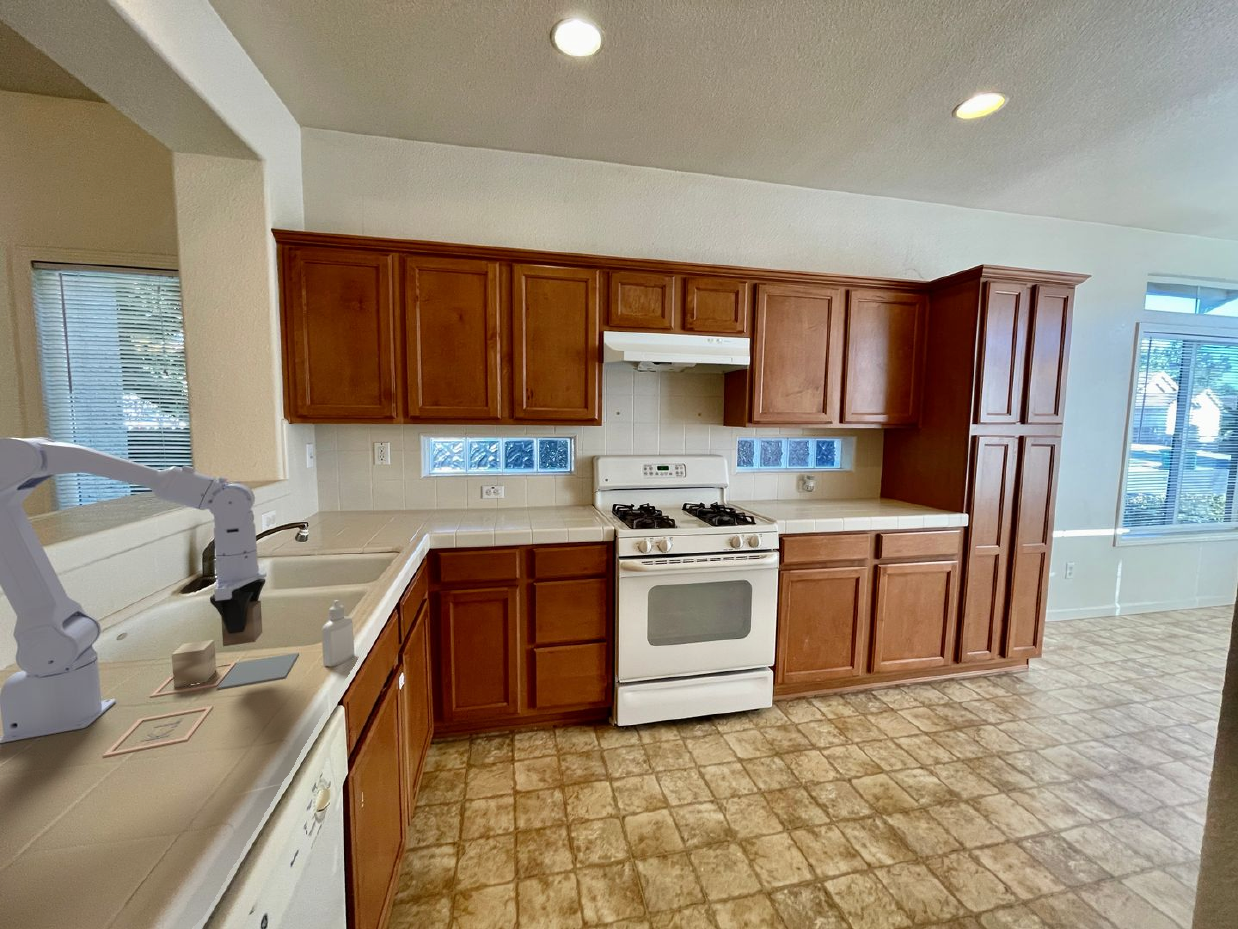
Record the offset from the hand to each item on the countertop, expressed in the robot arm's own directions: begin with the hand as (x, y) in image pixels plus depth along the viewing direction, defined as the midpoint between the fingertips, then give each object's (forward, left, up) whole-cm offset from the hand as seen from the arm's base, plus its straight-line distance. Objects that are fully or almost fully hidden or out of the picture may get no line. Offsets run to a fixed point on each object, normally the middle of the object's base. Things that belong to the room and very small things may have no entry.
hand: (241, 626), depth 86 cm
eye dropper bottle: (+14, +2, -10) cm, 18 cm away
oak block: (-9, +4, -10) cm, 14 cm away
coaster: (+1, +3, -10) cm, 11 cm away
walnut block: (0, 0, -2) cm, 2 cm away
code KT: (-7, -13, -10) cm, 18 cm away
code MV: (-9, +4, -10) cm, 14 cm away
